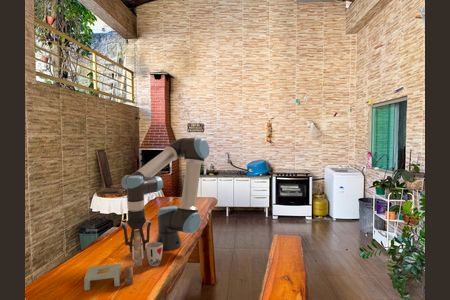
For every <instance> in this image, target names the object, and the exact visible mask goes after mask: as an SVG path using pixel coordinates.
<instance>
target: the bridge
mask: <svg viewBox="0 0 450 300" xmlns="http://www.w3.org/2000/svg"><path fill="white" fill-rule="evenodd" d="M121 265H122V264H121V263H114V264H106V265H105V264H104V265H95V266H89V267H88V268H87V271H86V273H85V277H84V278H83V279H84V280H83V283H84V288H83V289H84V291H90V290H91V281H97V280H105V279H113V280H114V287H120V284H121V281H120V278H121V276H122V266H121ZM105 271H106V272H105ZM107 271H108V272H107ZM99 272H102V273H99Z"/></svg>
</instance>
